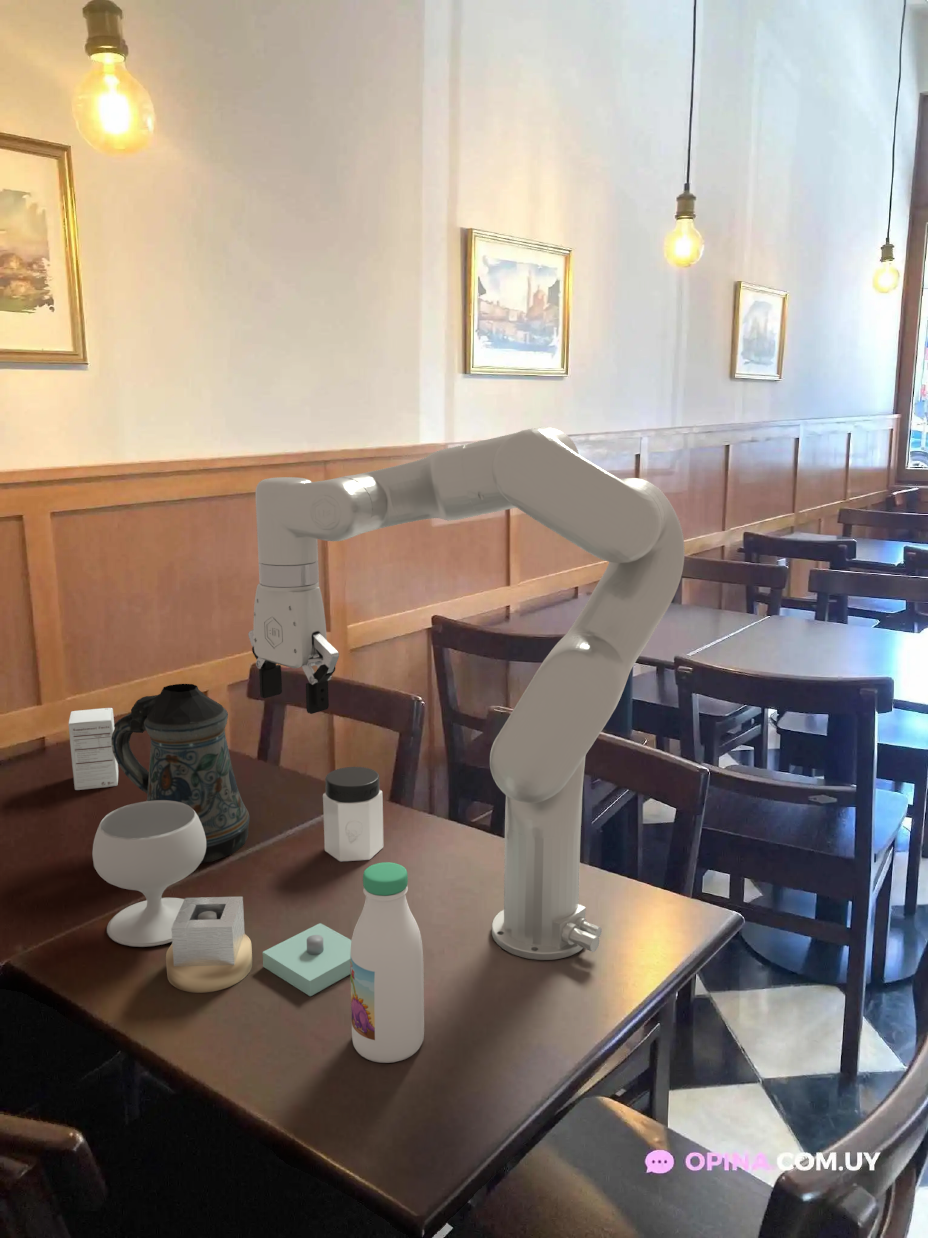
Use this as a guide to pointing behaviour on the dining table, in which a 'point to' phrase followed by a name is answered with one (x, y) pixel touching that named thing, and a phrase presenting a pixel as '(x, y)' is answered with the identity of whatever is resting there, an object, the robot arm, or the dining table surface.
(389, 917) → the milk bottle
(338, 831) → the jar
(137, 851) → the chalice
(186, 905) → the collar
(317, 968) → the stand
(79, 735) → the supplement box
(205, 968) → the hub
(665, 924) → the dining table surface
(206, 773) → the beer stein
